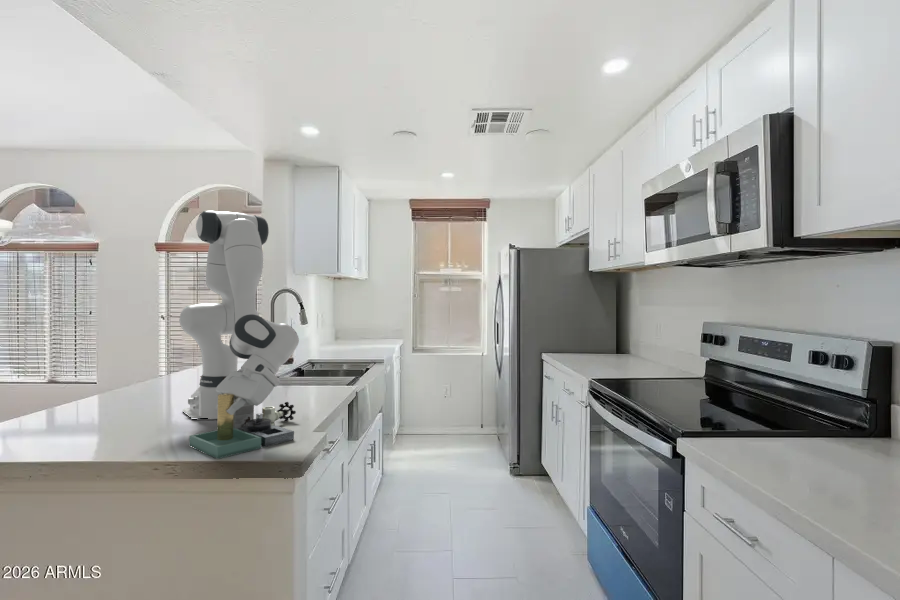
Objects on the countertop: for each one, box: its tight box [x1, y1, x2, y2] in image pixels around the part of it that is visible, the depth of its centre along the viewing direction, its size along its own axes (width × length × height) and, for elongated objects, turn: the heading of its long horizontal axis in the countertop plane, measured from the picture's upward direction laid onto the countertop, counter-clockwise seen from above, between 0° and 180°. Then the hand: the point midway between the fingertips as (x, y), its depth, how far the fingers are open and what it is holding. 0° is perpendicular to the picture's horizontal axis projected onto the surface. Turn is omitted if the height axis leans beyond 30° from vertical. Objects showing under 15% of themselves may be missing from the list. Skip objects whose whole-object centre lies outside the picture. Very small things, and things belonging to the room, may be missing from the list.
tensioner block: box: [238, 413, 295, 448], centre depth 144 cm, size 15×9×6 cm, turn 51°
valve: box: [261, 401, 297, 426], centre depth 159 cm, size 7×7×12 cm
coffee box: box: [223, 377, 255, 429], centre depth 154 cm, size 9×6×16 cm
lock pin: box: [216, 393, 234, 441], centre depth 135 cm, size 4×4×12 cm
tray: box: [188, 428, 262, 459], centre depth 135 cm, size 16×12×3 cm
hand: (223, 411), depth 134 cm, fingers closed on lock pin, 4 cm apart
